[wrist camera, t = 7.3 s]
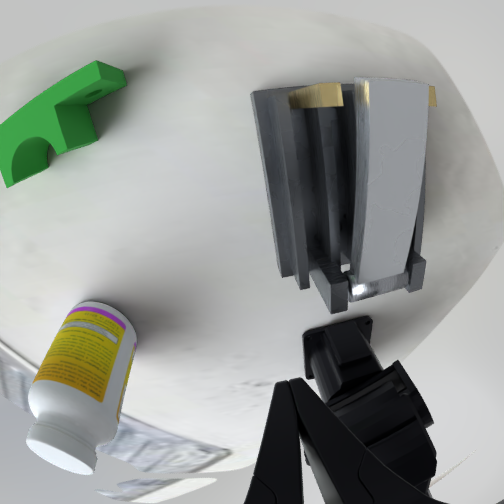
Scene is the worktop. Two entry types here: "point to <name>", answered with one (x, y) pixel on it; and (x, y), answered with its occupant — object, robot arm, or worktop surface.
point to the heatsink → (318, 185)
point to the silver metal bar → (386, 181)
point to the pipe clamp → (54, 121)
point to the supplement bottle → (81, 387)
